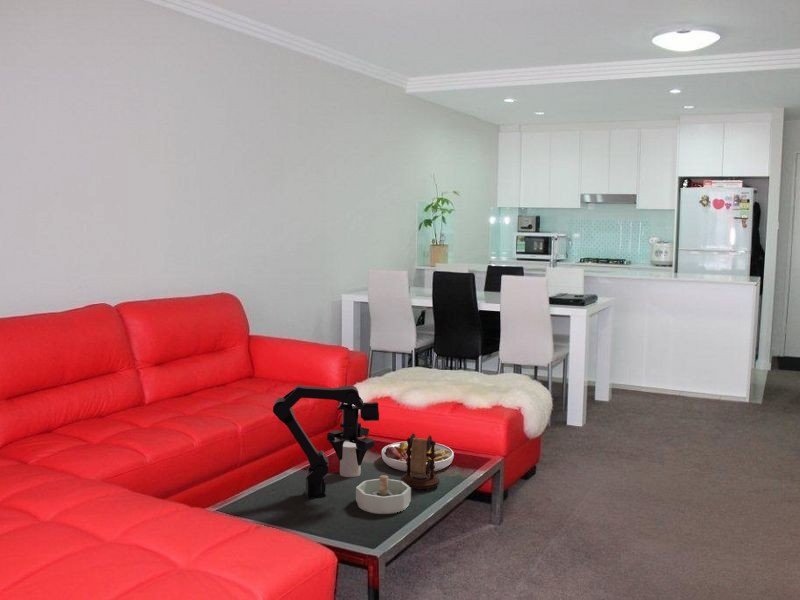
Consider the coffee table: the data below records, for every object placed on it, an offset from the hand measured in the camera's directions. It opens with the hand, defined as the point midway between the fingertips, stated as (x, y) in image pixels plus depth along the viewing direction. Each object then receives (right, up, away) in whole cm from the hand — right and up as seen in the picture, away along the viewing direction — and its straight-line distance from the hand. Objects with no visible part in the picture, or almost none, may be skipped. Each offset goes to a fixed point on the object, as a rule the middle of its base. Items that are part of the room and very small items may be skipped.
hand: (350, 462), depth 275 cm
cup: (-1, -10, +24) cm, 26 cm away
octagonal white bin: (+12, -13, -7) cm, 19 cm away
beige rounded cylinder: (+12, -12, -7) cm, 19 cm away
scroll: (+26, -12, +12) cm, 31 cm away
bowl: (+26, -9, +39) cm, 48 cm away
